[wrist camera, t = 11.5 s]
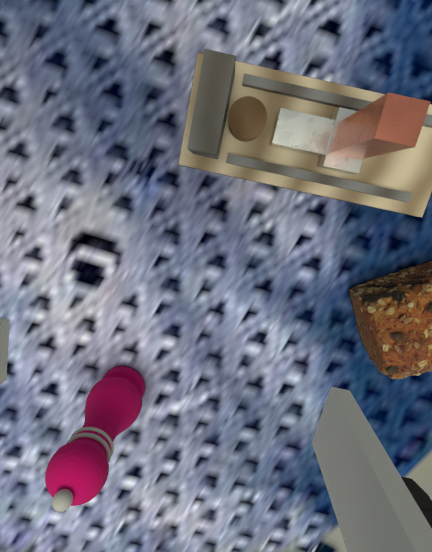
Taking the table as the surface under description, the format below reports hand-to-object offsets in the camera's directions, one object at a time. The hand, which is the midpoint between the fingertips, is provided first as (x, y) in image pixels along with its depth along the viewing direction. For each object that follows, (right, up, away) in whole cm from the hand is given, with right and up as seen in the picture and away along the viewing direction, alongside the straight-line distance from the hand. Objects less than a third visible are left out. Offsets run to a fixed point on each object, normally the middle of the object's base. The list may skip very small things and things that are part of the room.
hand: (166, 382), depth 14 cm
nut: (+5, +22, +25) cm, 34 cm away
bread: (+29, +2, +32) cm, 43 cm away
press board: (+13, +21, +27) cm, 36 cm away
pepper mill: (-11, -12, +36) cm, 40 cm away
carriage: (+14, +20, +25) cm, 35 cm away
